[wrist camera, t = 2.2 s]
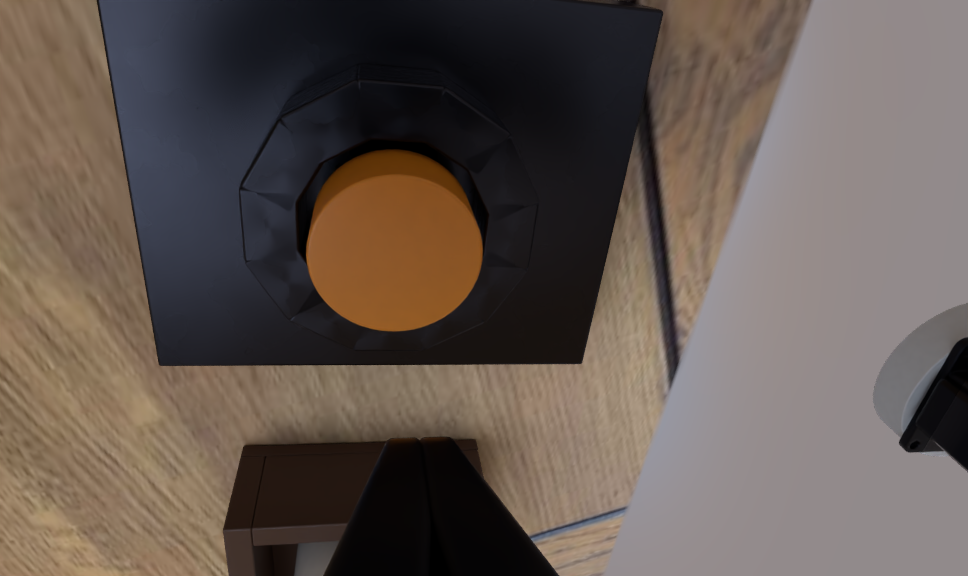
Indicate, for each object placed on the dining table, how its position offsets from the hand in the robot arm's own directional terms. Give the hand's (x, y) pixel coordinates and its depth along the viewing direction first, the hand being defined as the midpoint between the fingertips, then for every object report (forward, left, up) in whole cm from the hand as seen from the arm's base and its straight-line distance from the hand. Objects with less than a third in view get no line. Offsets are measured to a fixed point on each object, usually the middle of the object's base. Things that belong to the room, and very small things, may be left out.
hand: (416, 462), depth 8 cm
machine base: (0, 0, -11) cm, 11 cm away
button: (0, 0, -7) cm, 7 cm away
